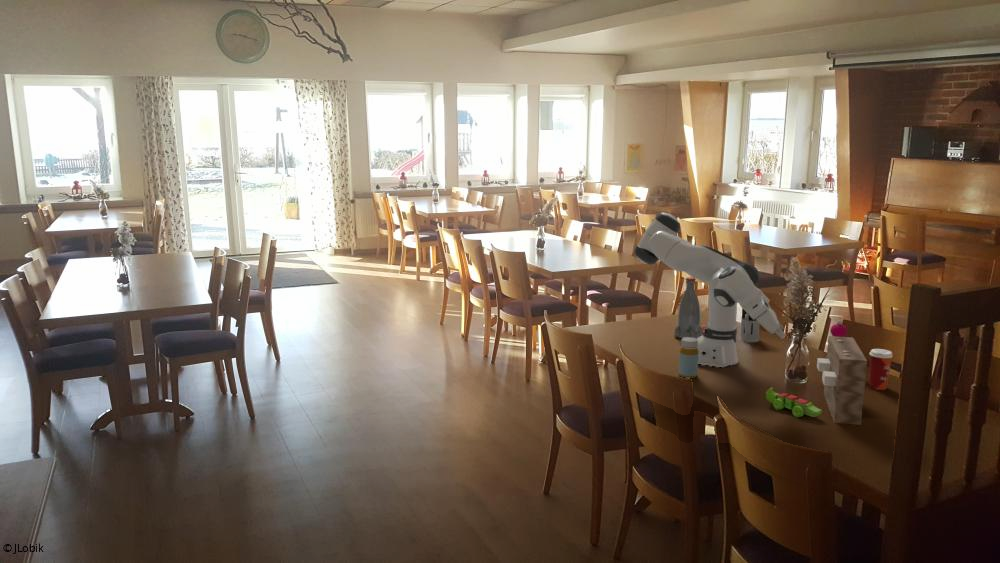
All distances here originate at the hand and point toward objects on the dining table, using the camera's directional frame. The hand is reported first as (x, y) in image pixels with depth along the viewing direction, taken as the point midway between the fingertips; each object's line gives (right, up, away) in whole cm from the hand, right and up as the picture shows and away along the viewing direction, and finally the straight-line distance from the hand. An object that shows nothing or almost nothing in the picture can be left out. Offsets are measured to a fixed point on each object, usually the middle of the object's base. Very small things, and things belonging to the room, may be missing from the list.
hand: (783, 333), depth 258 cm
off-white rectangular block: (+11, -16, -15) cm, 24 cm away
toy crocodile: (0, -26, -8) cm, 28 cm away
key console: (+17, -25, -7) cm, 32 cm away
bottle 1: (-14, -7, +77) cm, 79 cm away
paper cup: (+40, -21, +12) cm, 47 cm away
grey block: (+15, -13, -2) cm, 20 cm away
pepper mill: (+33, -17, +32) cm, 49 cm away
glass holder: (+11, -9, +70) cm, 72 cm away
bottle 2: (-27, -19, +27) cm, 42 cm away
